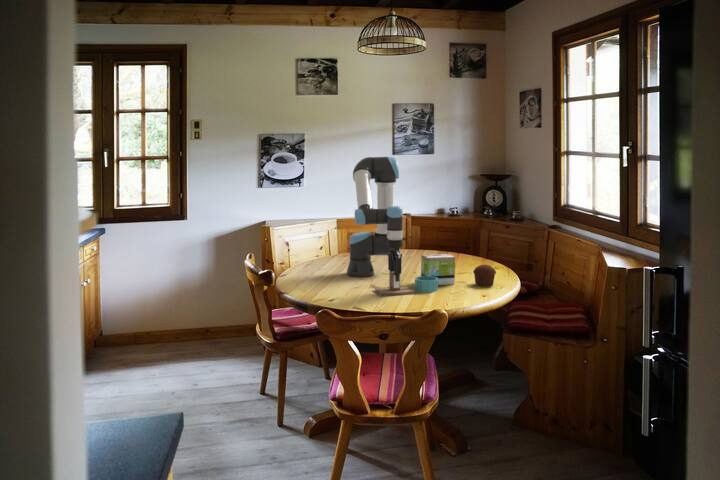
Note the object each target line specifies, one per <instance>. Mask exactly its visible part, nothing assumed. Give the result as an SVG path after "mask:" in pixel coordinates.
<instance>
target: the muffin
mask: <svg viewBox="0 0 720 480" xmlns="http://www.w3.org/2000/svg"><path fill="white" fill-rule="evenodd" d="M472 272H473V274H474V282H475V285H476V286H478V287H492V286H494V282H495V277H496V274H497V271H496V270H495V268H494V267H493V266H491V265H489V264H480V265H477V266H475V268H474V269H473V271H472Z"/></svg>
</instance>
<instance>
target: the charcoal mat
mask: <svg viewBox="0 0 720 480" xmlns="http://www.w3.org/2000/svg"><path fill="white" fill-rule="evenodd" d="M414 291H415V294H404V295H403V296H409V295H410V296H412V295H419V294H420V292H419V293H418V291H416V290H414ZM371 292H372V293H373V294H375V295H376V296H378V297H379V298H387V297H390V298H391V296H382V295H381V294H379V293H378V292H376V291H375V289H373V290H371ZM399 296H400V297H401V296H402V295H393V296H392V297H399Z"/></svg>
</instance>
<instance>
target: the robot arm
mask: <svg viewBox="0 0 720 480" xmlns="http://www.w3.org/2000/svg"><path fill="white" fill-rule="evenodd" d="M398 163H399V162H398V160H397V158H395V157H393V156H375V157H374V156H373V157H372V156H367V157H364V158H362V159H360V161H358V162H357V163H356V165H355V166H354V167H353V171H352V179H353V182H354V183H355V190H356V191H355V192H356V202H357V203H356V204H357V209H355V210H354V223H355V224H356V225H377V228H376V229H375V230H374V234H372V233H371V232H370V231H360V232H356V233H353V234H351V235H350V236H349V263H348V266H347V270H346V276H348V277H355V278H357V277H358V278H365V277H371V276H374V275H375V269H374V267H373V263H372V256H387V261H388V262H387V263H388V264H387V265H388V268H387V269H388V271H394V274H393V275H394V288H399V275H400V276H401V274H402V258H403V254H402V253H401V252H400V248H402V247H403V245H404V244H403V238H404V237H403V235H404V234H403V233H404V231H403V229H404V228H403V224H404V223H403V219H404V218H403V215H404V213H403V212H404V211H403V207H402V206H398V205H394V185H395V184H396V183H397V180H398V179H399V178H400V171H399V170H400V169H399V164H398ZM371 180H374V183H375V184H376V186H377V187H376V188H377V193H376V194H377V195H376V196H377V199H376V200H377V203H376V204H377V205H376V206H377V207H376V208H374V206H373V197H372V188H371Z"/></svg>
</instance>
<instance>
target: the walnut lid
mask: <svg viewBox="0 0 720 480" xmlns="http://www.w3.org/2000/svg"><path fill="white" fill-rule="evenodd" d="M388 271H389V276H388V277H389V283H388V284H389V285H388V286H386V287H376V288H374V290H375V291H376V292H378V293H379V294H381V295H382V296H390V297H394V296H393V295H401V296H405V295H404V294H413V295H416V294H415V291H416V290H415V289H412V288H410V287H409V286H407V285H401V274H400V275H399V288H394V275H393V274H394V271H390V270H388Z"/></svg>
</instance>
